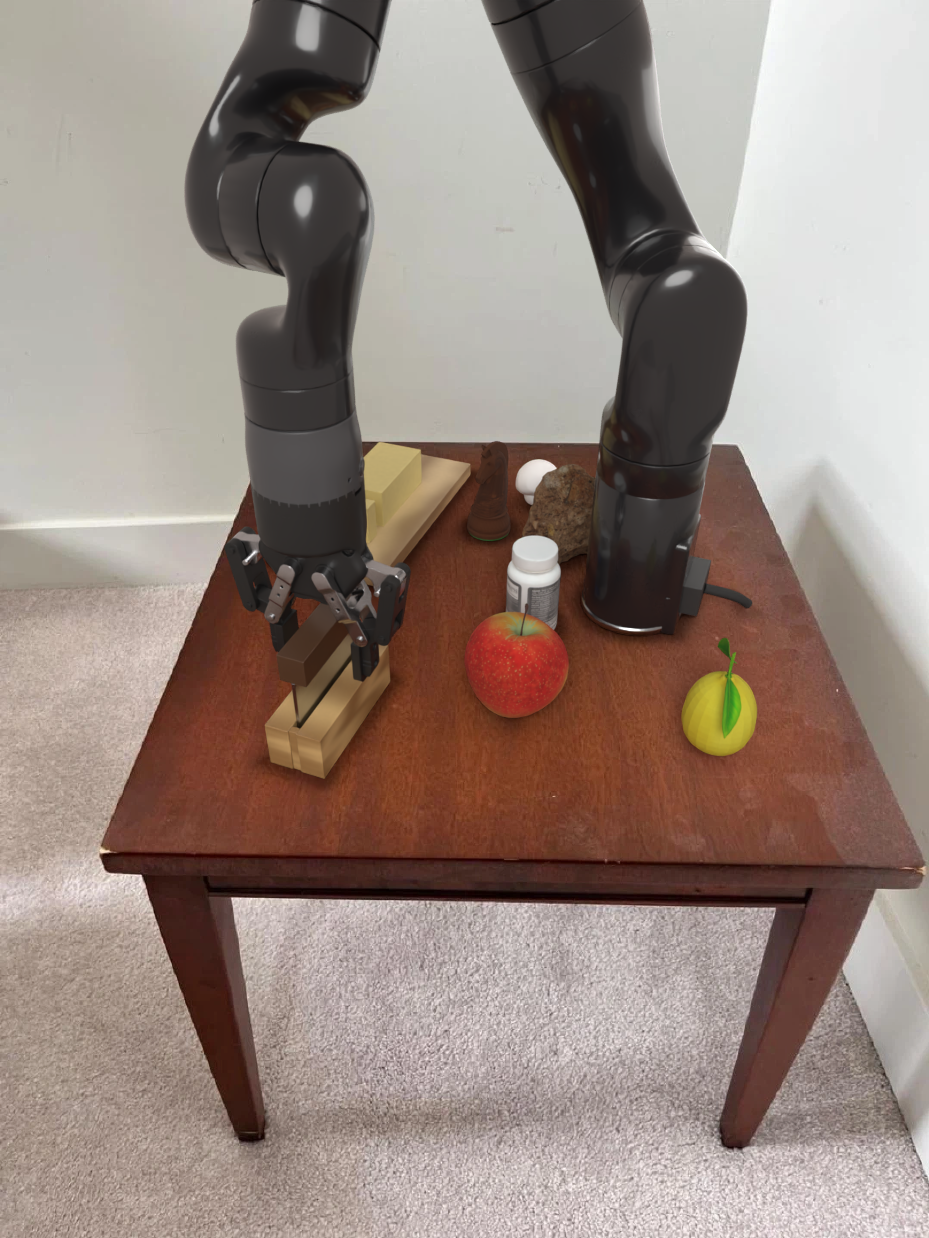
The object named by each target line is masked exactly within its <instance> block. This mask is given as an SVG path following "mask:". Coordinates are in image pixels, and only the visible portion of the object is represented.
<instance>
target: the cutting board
mask: <svg viewBox="0 0 929 1238" xmlns="http://www.w3.org/2000/svg"><path fill="white" fill-rule="evenodd" d="M421 473H422V482H421V483H420V485H419V486H418V487H417V488H416V489H415V490H414V492H413V493H412V494H411V495H410V496H409V498H408V499H407V500H406V501H405V502H404V503H403V505H402V506H401V507H400V508H399V509H398V510H397V512H396V513H395V514H394V515H393V516H392V517H391V519H390V520H389V521H388V522H387V523H386V524H385V526H384V527H383V526H378V525H376V530H377V535H376V536H375V537H374V538H373V540H372V541H371V542H370V543H367V546H368V548H369V550H370V552H371V553H372V555H373V559H374V561H377V562H380V563H382V564H385V565H388V566H390V567H393V568H394V566H395V565H396V564H397V563H399V562H402V563H404V561H405V560H406V559H407V557H408V556H409V555H410V553H411V552H412V551H413V550H414V549H415V547H416V546H417V545H418V544H419V542H420V540H422V538H423V537H424V535H425V534H426V533H427V532H428V530H429V529H430V528H431V526H433V524H434V522H435V521H436V520H437V519H438V518H439V516H440V515H441V514H442V513H443V511H444V510H445V509H446V507H447V506H448V505H449V503H450V502H451V501H452V500H453V498H454V497H455V495H456V494H457V493H458V492H459V490H460V489H461V488H462V487H463V485H465V483H466V482H467V481H468V479H469V478H470V476H471V463H469V462H463V461H458V460H452V459H448V458H442V457H437V456H432V455H426V454H422V453H421ZM364 580H365V582H366V584H367V586H371V587H373V583H372V581H371V580H370V579H369V578H367V577H365V578H364Z"/></svg>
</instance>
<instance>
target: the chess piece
mask: <svg viewBox="0 0 929 1238" xmlns="http://www.w3.org/2000/svg"><path fill="white" fill-rule="evenodd" d="M481 449H482V452H481V453H480V456H481V457H480V465H479V467H478V470H477V473H476V475H475V477H474V478H475V482H476V483H477V484H480V485H479V486H478V489H477V492H476V495H475V499H474V501H473V504H472V505H471V507H470V511H469V512H470V513H469V514H468V517H467V523H466V530H467V532H468V534H469V535H470V536H471V537H472V538H474V539H477V540H480V541H484V542H485V541H487V542H494V541H500V540H502V539H504V538H506V537H508V536H509V533H510V532H511V527H512V525H511V517H510V514H509V512H508V511H509V509H508V506H507V503H508V493H509V492H508V491H509V459H510V457H509V450H508V447H507V444H505V442H502V441H499V440H494V441H492V442H490V443H489V444H488V445H483V444H482V445H481Z"/></svg>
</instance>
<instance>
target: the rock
mask: <svg viewBox="0 0 929 1238" xmlns="http://www.w3.org/2000/svg"><path fill="white" fill-rule="evenodd" d="M556 468H557V469H555V470H553V471H550V472H547V473H546V474H545V475H544V476H543V477H542V480H541V482H540V483H539V484H538V486H537V487H536V489H535V493H534V499H533V505H530V507H529V511H528V517H527V521H526V522H525V525H524V527H523V529H522V533H521V535H522V537H526V536H543V537H546V538H549V539H551V540H553V541H554V542H555V543H556V544H557V546H558V561H557V563H558V564H559V566H560V565H561V564H562V563H564V562H569V560H570V559H572V558H574V557H577V556H579V555H584V554H586V555H587V551H588V541H589V532H590V523H591V514H592V505H593V495H594V486H595V477H596V476H592V475H591V474H589V473H588V472H587V470H586V469H585V467H581V465H579V464H575V463H568V464H564V465H563V464H562V465H561V466H560V467H556ZM522 537H521V538H522Z"/></svg>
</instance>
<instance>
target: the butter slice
mask: <svg viewBox="0 0 929 1238" xmlns="http://www.w3.org/2000/svg"><path fill="white" fill-rule="evenodd" d="M366 513H367V532H366V543H370V542H371V541H372V540H373V538H374V537H375V536H376V535H377V530H376V512H375V501H373V500H369V499H366Z"/></svg>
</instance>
